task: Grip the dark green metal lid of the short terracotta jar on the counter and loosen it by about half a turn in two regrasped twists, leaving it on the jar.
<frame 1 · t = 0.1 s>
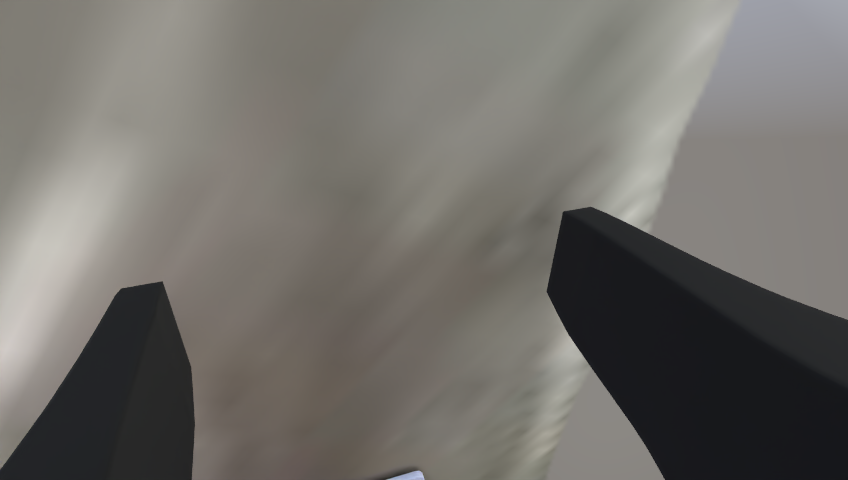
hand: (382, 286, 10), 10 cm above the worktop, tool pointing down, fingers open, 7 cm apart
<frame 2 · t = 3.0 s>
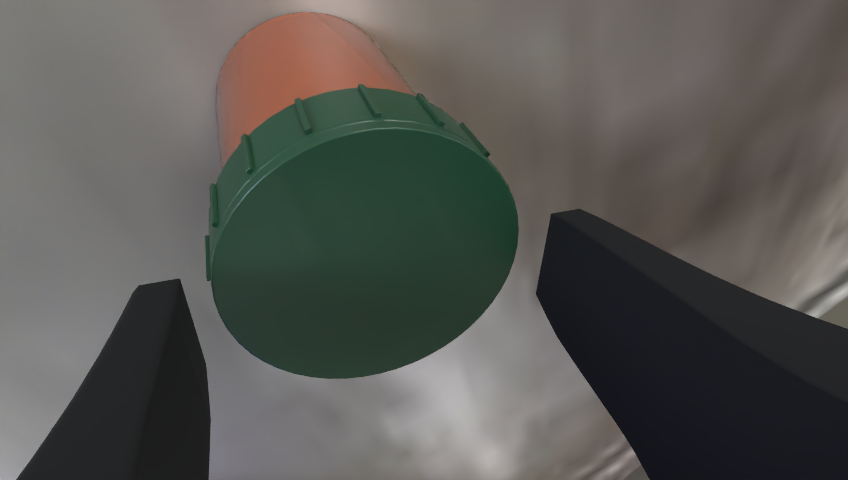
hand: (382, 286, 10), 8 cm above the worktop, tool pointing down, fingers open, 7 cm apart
jar lid: (373, 262, 11), point 8 cm above the worktop, screwed on, not yet turned
jar: (309, 103, 17), on the worktop
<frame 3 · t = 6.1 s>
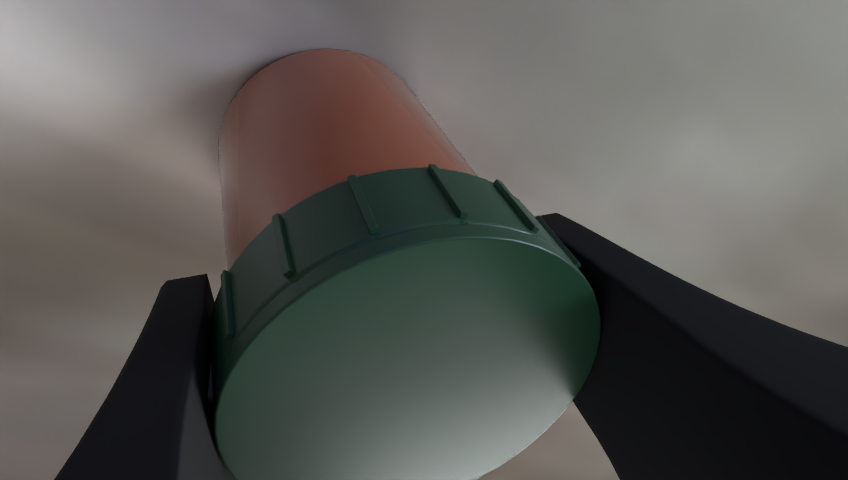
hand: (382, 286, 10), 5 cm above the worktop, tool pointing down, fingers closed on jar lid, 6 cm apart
jar lid: (418, 383, 9), point 8 cm above the worktop, screwed on, not yet turned, touching gripper
jar: (326, 150, 14), on the worktop
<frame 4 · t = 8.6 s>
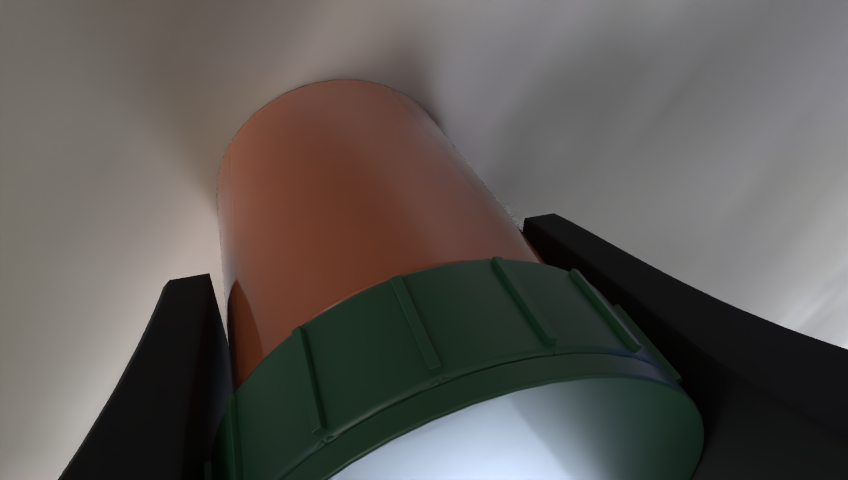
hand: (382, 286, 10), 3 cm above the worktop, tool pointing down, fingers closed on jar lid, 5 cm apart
jar: (340, 191, 13), on the worktop
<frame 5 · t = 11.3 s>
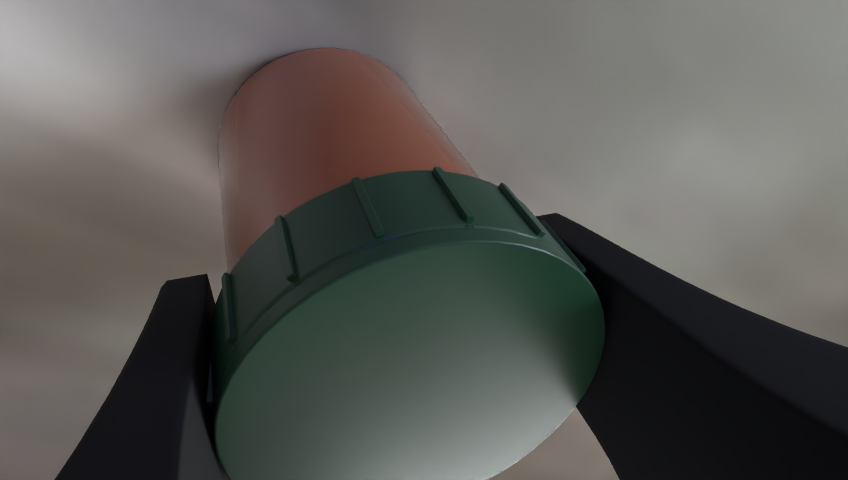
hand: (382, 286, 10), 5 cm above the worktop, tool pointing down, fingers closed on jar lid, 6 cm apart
jar lid: (421, 388, 8), point 8 cm above the worktop, turned 84° so far, risen 0.1 cm, still on its thread, touching gripper
jar: (326, 150, 14), on the worktop
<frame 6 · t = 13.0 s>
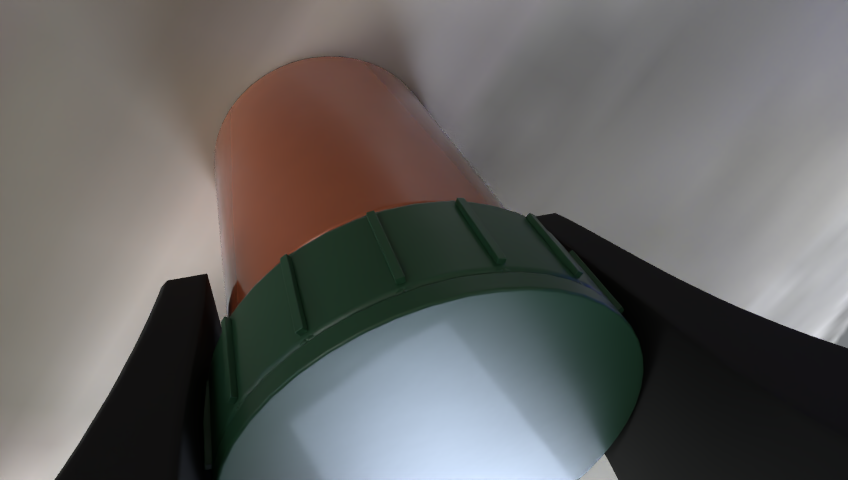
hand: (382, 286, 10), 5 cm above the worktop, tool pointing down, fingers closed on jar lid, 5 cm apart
jar lid: (441, 439, 8), point 8 cm above the worktop, turned 166° so far, risen 0.2 cm, still on its thread, touching gripper
jar: (329, 163, 14), on the worktop
when the fingers open (1 cm above the worktop, at t = 14.5 s): jar lid stays where it is, point 8 cm above the worktop.
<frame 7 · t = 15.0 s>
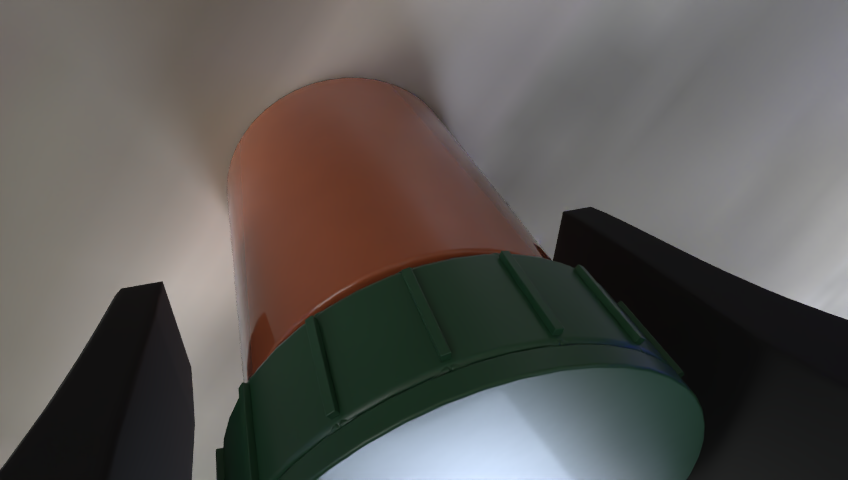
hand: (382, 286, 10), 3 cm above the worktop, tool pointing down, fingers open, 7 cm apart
jar: (346, 187, 13), on the worktop
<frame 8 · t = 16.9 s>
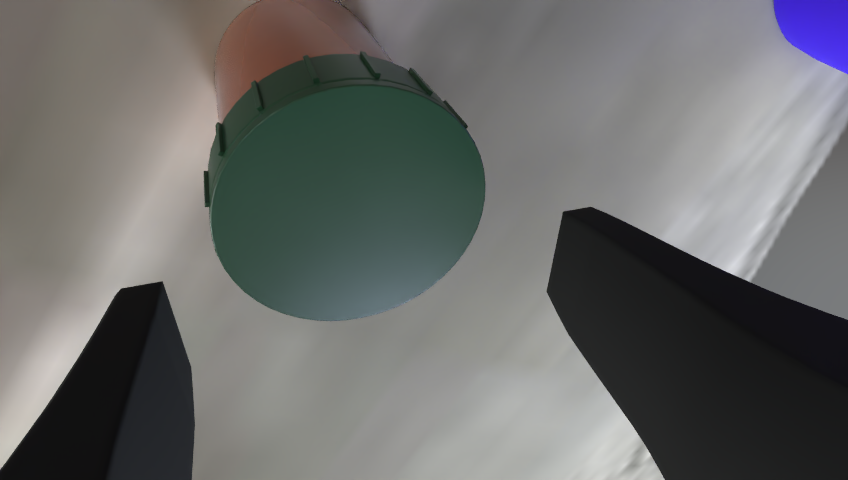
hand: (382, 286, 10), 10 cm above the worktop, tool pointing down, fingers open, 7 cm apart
jar lid: (354, 211, 12), point 8 cm above the worktop, turned 166° so far, risen 0.2 cm, still on its thread
jar: (300, 78, 18), on the worktop
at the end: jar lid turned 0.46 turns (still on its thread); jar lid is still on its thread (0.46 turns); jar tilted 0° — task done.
